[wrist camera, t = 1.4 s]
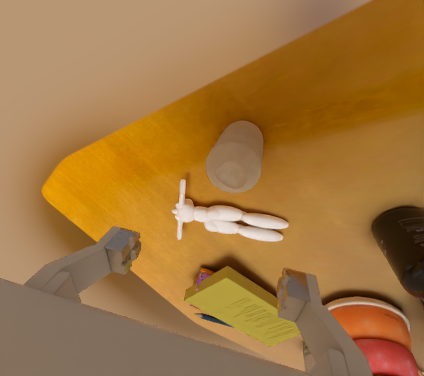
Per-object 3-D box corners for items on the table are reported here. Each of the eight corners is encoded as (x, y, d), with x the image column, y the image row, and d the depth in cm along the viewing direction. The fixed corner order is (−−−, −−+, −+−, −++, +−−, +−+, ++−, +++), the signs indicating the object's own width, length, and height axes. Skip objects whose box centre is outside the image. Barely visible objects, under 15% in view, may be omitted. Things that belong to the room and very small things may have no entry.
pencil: (249, 327, 50) (196, 311, 44) (248, 332, 49) (194, 317, 43) (247, 326, 50) (194, 310, 44) (246, 330, 50) (192, 315, 44)
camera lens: (310, 334, 46) (317, 380, 39) (339, 345, 46) (350, 393, 39) (297, 346, 49) (301, 390, 43) (323, 356, 49) (332, 402, 43)
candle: (215, 151, 30) (194, 187, 21) (230, 112, 27) (212, 137, 18) (252, 166, 30) (245, 209, 21) (271, 130, 27) (272, 163, 18)
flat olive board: (226, 277, 35) (318, 334, 42) (227, 265, 36) (315, 322, 43) (183, 300, 41) (269, 346, 48) (186, 289, 43) (269, 335, 50)
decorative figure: (300, 204, 29) (170, 182, 29) (275, 262, 36) (168, 243, 36) (295, 190, 32) (176, 170, 32) (272, 246, 38) (173, 229, 39)
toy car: (190, 295, 49) (183, 316, 45) (200, 263, 42) (192, 283, 38) (213, 304, 48) (208, 325, 44) (227, 272, 42) (223, 294, 38)
